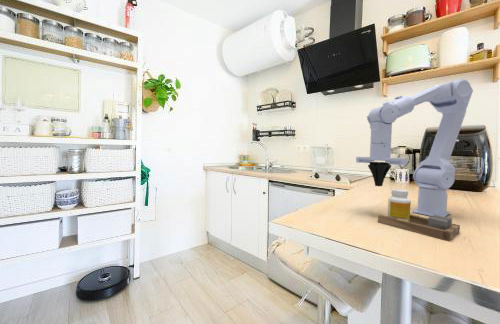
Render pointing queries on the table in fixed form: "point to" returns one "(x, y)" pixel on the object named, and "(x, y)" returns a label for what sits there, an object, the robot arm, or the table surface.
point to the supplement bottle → (399, 205)
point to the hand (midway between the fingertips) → (378, 185)
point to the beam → (425, 225)
